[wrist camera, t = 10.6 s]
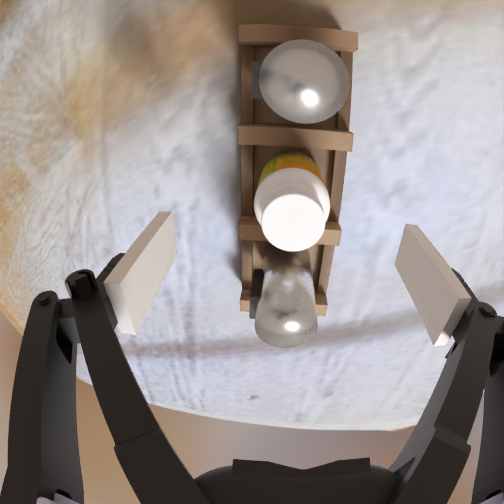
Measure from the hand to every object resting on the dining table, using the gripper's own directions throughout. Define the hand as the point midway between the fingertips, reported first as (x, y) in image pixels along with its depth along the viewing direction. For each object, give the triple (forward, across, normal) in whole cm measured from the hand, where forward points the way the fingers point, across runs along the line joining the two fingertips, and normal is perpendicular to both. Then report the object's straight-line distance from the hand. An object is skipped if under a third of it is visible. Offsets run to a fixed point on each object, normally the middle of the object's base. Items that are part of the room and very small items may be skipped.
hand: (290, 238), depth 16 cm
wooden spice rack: (+13, +1, 0) cm, 13 cm away
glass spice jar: (+12, +1, -9) cm, 15 cm away
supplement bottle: (+12, 0, 0) cm, 12 cm away
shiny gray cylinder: (+12, +1, +8) cm, 15 cm away
